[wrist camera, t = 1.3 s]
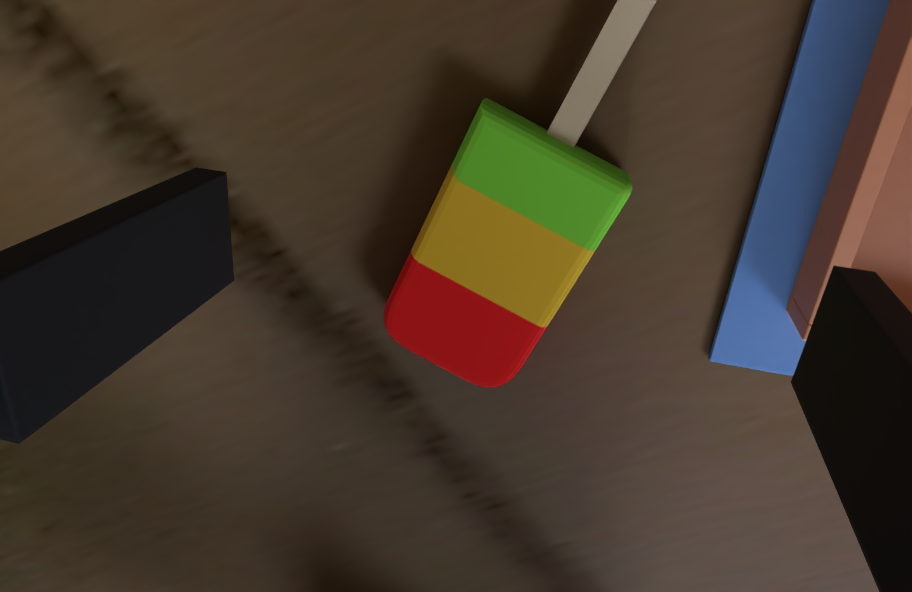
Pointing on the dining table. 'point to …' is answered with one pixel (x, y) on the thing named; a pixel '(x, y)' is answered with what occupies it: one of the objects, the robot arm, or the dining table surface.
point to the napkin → (795, 184)
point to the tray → (868, 181)
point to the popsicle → (512, 226)
